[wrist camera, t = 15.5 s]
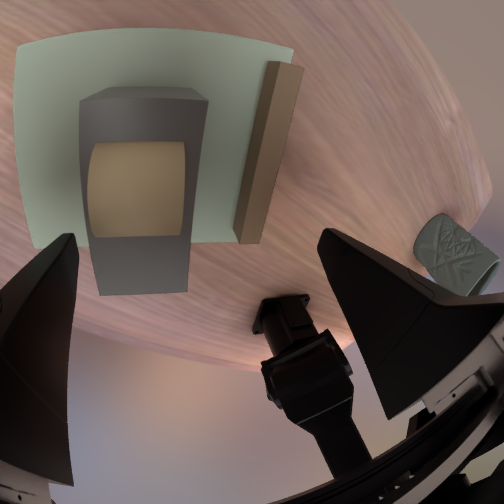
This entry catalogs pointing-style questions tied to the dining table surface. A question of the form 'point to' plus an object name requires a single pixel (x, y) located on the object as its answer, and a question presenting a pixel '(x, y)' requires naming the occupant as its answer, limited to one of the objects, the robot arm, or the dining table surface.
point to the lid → (155, 75)
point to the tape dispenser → (140, 185)
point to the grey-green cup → (455, 257)
